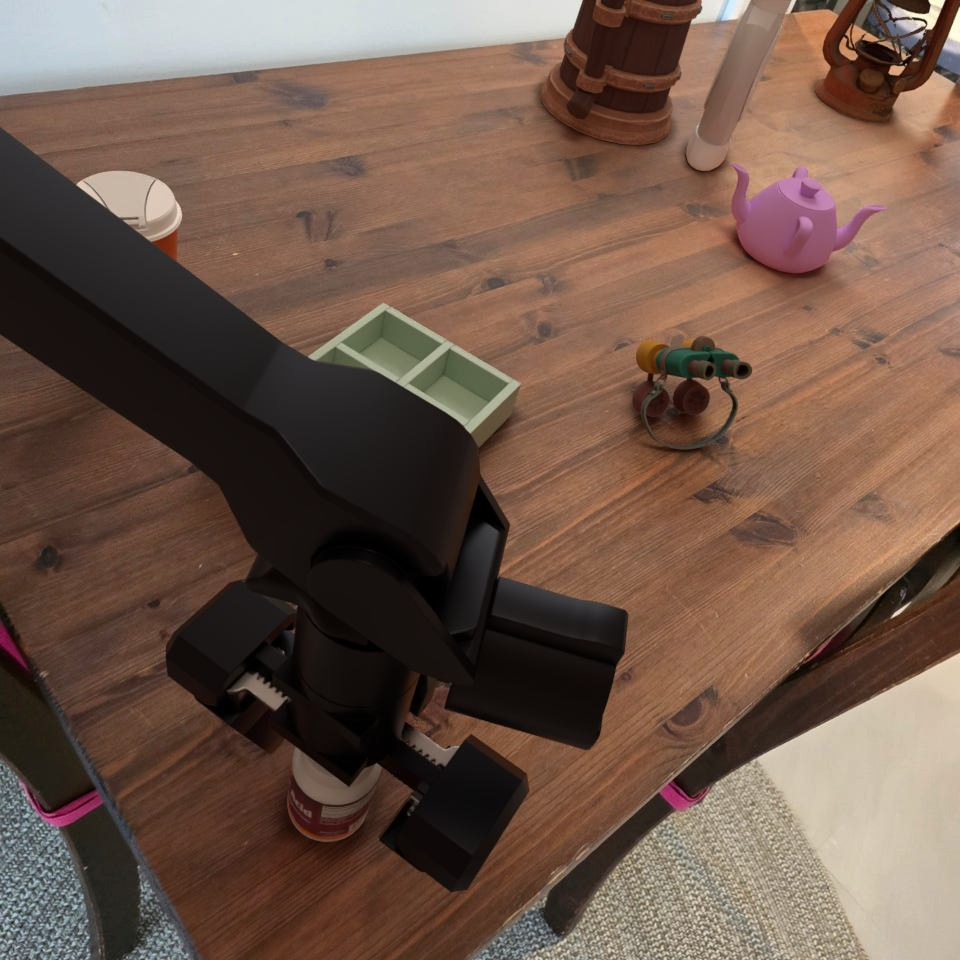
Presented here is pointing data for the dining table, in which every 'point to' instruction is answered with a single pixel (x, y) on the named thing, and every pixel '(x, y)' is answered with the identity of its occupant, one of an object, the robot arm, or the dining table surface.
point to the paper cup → (139, 205)
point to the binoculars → (689, 395)
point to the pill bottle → (328, 799)
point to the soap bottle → (736, 81)
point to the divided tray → (426, 368)
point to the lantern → (880, 60)
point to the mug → (621, 69)
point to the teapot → (792, 222)
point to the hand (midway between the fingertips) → (330, 789)
